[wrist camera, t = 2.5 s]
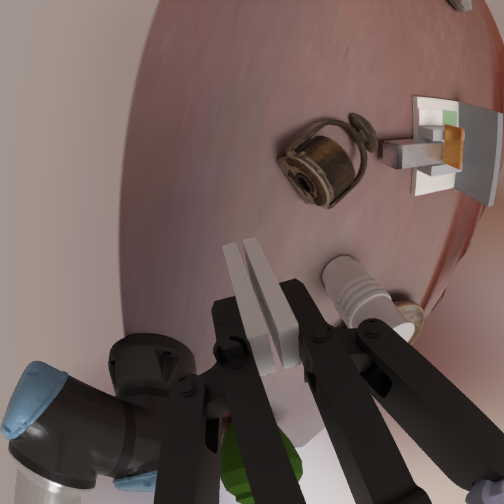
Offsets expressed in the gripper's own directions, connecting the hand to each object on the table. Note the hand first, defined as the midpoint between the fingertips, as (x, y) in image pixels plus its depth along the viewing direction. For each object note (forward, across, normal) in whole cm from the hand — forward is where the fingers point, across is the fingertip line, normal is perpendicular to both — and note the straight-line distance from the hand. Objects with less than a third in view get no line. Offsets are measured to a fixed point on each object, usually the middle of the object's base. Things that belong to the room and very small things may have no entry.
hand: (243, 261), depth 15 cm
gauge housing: (+16, +34, 0) cm, 38 cm away
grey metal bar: (+15, +26, +1) cm, 30 cm away
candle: (+17, +15, -18) cm, 29 cm away
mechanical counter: (+17, +14, 0) cm, 22 cm away
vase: (+17, -7, -60) cm, 63 cm away
